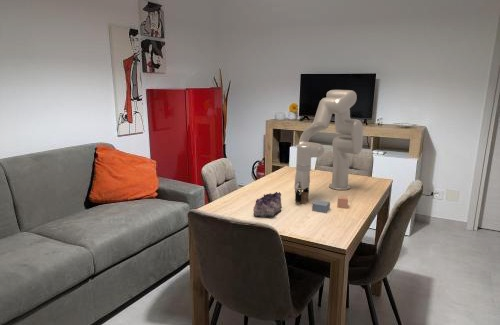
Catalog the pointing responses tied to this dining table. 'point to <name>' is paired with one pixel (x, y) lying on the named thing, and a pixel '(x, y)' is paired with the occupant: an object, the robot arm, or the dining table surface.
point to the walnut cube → (303, 198)
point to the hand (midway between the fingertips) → (301, 198)
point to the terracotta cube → (342, 202)
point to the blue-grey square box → (321, 206)
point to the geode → (268, 205)
